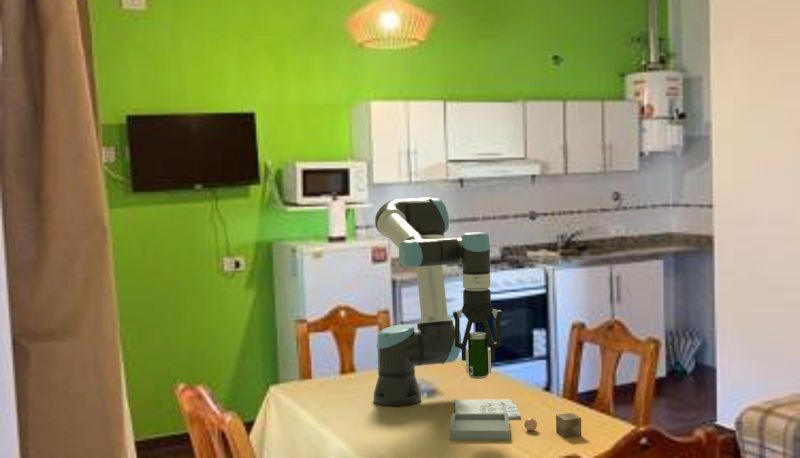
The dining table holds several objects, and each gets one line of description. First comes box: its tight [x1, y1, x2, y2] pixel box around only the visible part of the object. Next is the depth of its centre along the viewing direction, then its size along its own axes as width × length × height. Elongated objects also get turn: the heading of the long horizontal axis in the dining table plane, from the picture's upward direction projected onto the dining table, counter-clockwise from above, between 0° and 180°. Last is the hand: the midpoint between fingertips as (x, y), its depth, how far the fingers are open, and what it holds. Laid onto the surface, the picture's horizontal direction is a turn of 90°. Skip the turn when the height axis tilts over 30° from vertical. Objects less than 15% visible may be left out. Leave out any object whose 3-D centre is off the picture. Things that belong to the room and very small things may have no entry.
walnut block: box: [555, 412, 582, 439], centre depth 223 cm, size 5×5×5 cm
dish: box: [449, 413, 511, 441], centre depth 229 cm, size 16×16×2 cm
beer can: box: [467, 331, 489, 380], centre depth 227 cm, size 5×5×12 cm
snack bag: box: [453, 398, 522, 420], centre depth 248 cm, size 19×20×2 cm
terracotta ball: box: [523, 417, 538, 432], centre depth 227 cm, size 4×4×4 cm
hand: (478, 371), depth 228 cm, fingers closed on beer can, 5 cm apart
